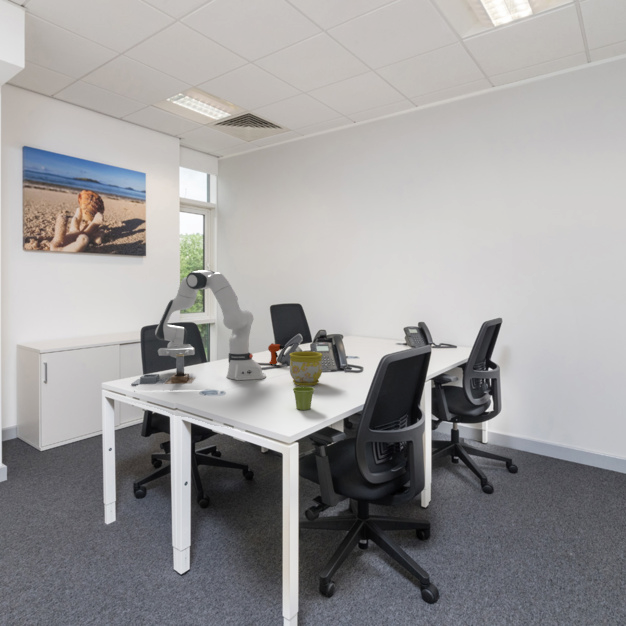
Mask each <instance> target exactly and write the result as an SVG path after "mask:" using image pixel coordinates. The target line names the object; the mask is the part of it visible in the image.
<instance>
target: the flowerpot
mask: <svg viewBox="0 0 626 626" xmlns="http://www.w3.org/2000/svg"><path fill="white" fill-rule="evenodd" d="M289 357H290V362H289V373H290V377H291V378H292V379H293V380H292V382H293V383H294V385H296V386H298V387H313V386H317V385H318V383H319V382H320V381H319V380H320V378H321V377H322V372H323V362H322V361H323V359H322V357H323V352H322V353H321V352H318V351H294V352H290V353H289Z"/></svg>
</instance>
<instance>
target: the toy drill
mask: <svg viewBox="0 0 626 626" xmlns="http://www.w3.org/2000/svg"><path fill="white" fill-rule="evenodd" d="M285 346H286V345H283V344H280V343H279V344H278V343H277V344H276V343H271V344H269V345H268V347H267V350H268V352H270V361H269V363H270V364H276V363H277V362H278V357H279V355H278V352H279V351H282V350H284V349H285V350H286V348H284V347H285ZM283 348H284V349H283ZM269 363H268V364H269Z"/></svg>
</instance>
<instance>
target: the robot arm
mask: <svg viewBox="0 0 626 626" xmlns="http://www.w3.org/2000/svg"><path fill="white" fill-rule="evenodd" d="M207 289H210V291H211V292H212V293H213V295H214V298H215V299H216V301H217V303H218V304H219V306H220V310H221V312H222V316H223V320H222V321H223V322H222V323H223V325H224V326H225V328H227V329H229V330H231V331H232V332H231V336H230V338H229V340H228V341H229V343H228V345H229V346H228V347H229V350H228V352H229V353H228V355H227V357H228V358H227V359H228V368H227V369H228V370H227V374H226V378H227V379H230V380H235V381H247V380H249V381H250V380H262V379H265V378H266V377H267V376H266V373H264V372H263V370H262V369H263V368H262V366H261V364H259V363H258V362H256V361H255V360H254V359H253V357H254V356H253V354H252V353H251V352H249V351H250V350H249V349H250V347H249V340H250V334H251V329H252V325H253V322H254V315H253V313H252V312H250V311H249V310H247V309H242V308H240V305H239V302H238V300H239V299H238V296H237V295H236V292H235V290H234V289H233V287H232V285H231V284H230V282H229V280H228V279H227V278H226V277H225V275H224V274H223V273H221V272H215V271H213V270H202V269H201V270H195V271H192V272H189V273H188V274H187V276H186V277H183V278H182V280H181V282H180V285H179V287H178V290H177V294H176V296H175V297H174V298H173V299H170V300H169V302H168V304H167V306H166V308H165V309H164V312H163V314H162V316H161V319H160V322H159V323H158V325H157V327H156V328H155V331H154V334H155V337H156V339H158V340H159V341H168V343H167V347H160V348H158V350H157V353H158V356H162V357H163V356H165V357H167V356H170V357H172V358H175V359H176V353H184V357H186V356H194V355H195V353H196V350H195V347H193V346H192V344H189V343H187V340H188V331H187V329H186V328H185V327H184V326H179V325H174V324H173V325H172V324H168V322H169V320H170V318H171V316H172V314H174V312H178V311H184V310H188V309H190V308H192V307H193V306H194V305H195V302H196V299H197V294H198V292H199V290H207Z"/></svg>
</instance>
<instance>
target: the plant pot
mask: <svg viewBox="0 0 626 626" xmlns="http://www.w3.org/2000/svg"><path fill="white" fill-rule="evenodd" d="M292 391H293V393H294V398H295V399H294V400H295V405H296V409H297V410H300V411H308V410H311V406H312V400H313V394H314V391H315V388H314V387H313V386H295V387H293V388H292Z"/></svg>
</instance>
